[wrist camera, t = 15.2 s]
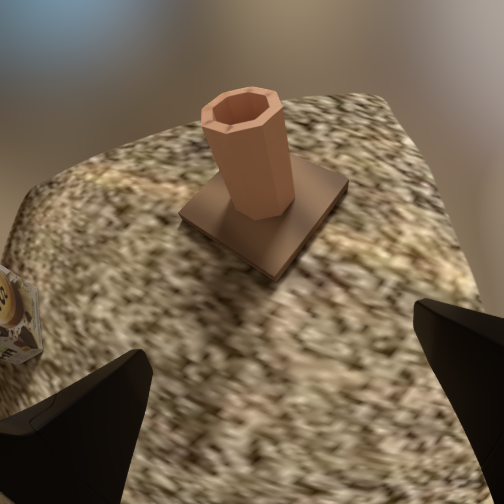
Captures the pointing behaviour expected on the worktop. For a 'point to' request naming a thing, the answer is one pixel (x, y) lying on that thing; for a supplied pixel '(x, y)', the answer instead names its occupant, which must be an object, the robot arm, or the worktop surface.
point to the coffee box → (18, 319)
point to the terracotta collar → (251, 150)
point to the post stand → (269, 229)
